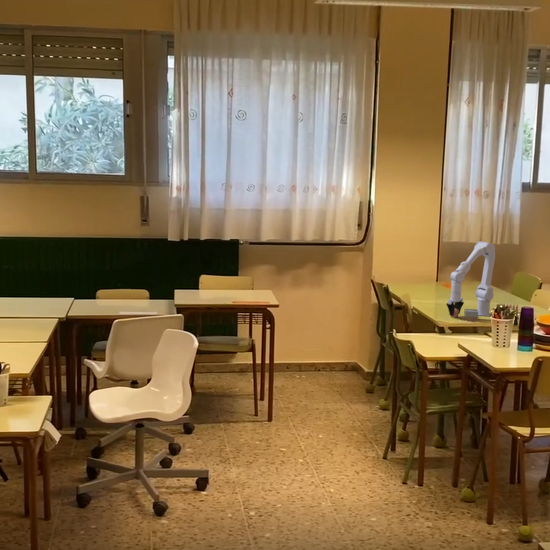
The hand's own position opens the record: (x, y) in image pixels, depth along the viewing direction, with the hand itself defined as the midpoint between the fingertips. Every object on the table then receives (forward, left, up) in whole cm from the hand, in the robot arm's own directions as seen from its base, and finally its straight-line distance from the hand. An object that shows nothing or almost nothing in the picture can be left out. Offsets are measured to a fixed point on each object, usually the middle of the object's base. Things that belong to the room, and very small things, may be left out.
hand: (454, 314), depth 409 cm
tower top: (+5, +9, +1) cm, 10 cm away
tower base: (+5, +9, -2) cm, 11 cm away
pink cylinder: (0, 0, -2) cm, 2 cm away
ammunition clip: (+10, +29, -2) cm, 31 cm away
